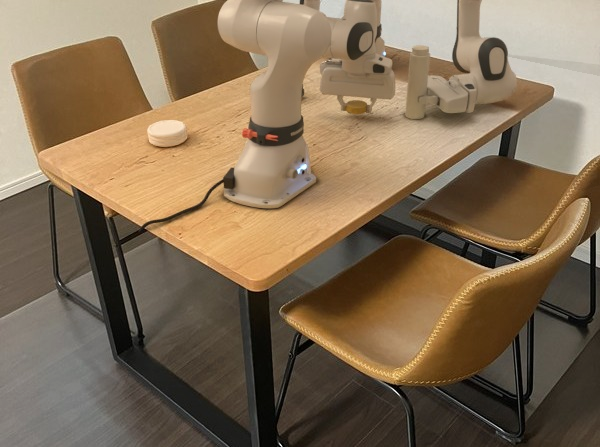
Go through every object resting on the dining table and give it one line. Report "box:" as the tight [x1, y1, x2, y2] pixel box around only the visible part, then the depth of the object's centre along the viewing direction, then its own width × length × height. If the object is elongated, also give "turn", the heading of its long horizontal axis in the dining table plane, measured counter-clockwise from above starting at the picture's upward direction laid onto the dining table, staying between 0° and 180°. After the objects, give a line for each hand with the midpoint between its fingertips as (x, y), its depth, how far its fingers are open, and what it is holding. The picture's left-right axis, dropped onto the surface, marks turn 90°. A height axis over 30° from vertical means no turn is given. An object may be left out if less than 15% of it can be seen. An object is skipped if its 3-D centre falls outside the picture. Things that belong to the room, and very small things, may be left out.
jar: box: [404, 44, 431, 120], centre depth 168 cm, size 5×5×19 cm
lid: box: [345, 99, 368, 115], centre depth 170 cm, size 6×6×2 cm
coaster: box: [146, 119, 188, 148], centre depth 160 cm, size 10×10×4 cm
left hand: (356, 111), depth 170 cm, fingers closed on lid, 5 cm apart
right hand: (413, 96), depth 169 cm, fingers closed on jar, 5 cm apart
